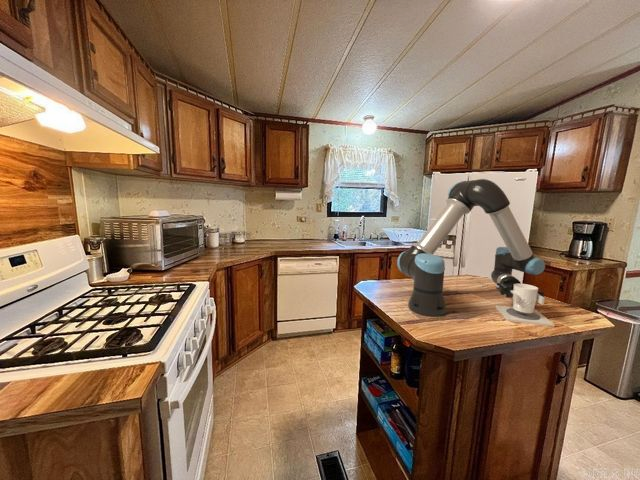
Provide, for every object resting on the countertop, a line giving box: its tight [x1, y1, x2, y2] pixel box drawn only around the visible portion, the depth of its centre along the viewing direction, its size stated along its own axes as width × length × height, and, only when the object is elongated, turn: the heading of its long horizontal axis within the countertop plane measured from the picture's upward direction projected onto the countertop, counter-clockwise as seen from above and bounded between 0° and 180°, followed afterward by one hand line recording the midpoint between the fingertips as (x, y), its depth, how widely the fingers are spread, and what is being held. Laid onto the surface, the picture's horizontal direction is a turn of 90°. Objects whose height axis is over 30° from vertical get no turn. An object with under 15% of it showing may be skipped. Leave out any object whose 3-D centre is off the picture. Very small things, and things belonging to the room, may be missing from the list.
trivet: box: [495, 304, 555, 327], centre depth 108 cm, size 15×15×1 cm
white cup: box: [512, 283, 539, 313], centre depth 107 cm, size 8×8×10 cm
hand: (530, 299), depth 102 cm, fingers closed on white cup, 8 cm apart
